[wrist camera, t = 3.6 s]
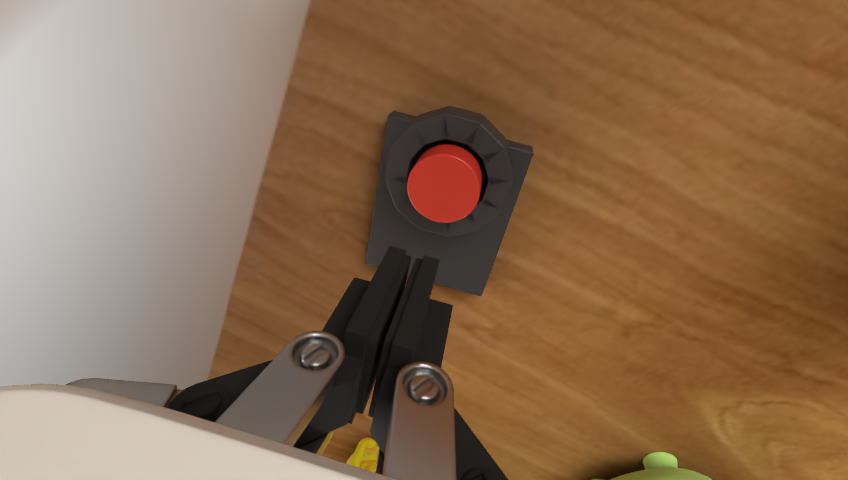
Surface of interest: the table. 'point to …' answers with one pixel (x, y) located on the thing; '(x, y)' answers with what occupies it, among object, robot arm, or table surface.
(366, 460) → the mug
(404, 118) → the switch block
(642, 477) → the teapot
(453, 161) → the button
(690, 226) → the table surface
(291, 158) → the table surface
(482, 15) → the table surface
